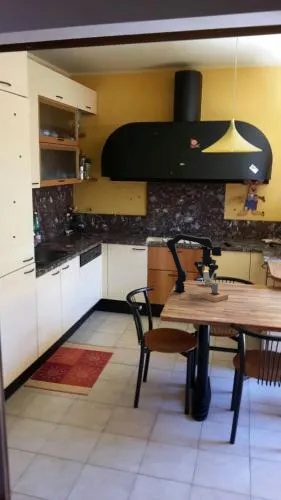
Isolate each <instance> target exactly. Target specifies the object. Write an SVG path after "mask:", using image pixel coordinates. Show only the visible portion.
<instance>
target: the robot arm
mask: <svg viewBox="0 0 281 500" xmlns="http://www.w3.org/2000/svg"><path fill="white" fill-rule="evenodd" d="M181 240H182V241H185V242H186V241H187V242H191V243H196V244H199V245H201V246H200V248H199V250H202V252H201V253H202V255H201V257H200V259H201V260H196V261H194V262H193V266H195V268H196V269H197V271H198V274H199V276H200V277H201V276H202V272H203V268H204V267H207V268H208V270H207V271H209V277H210V278H211V277H212V275H213V272H214V271H215V272H216V271H217V270H218V269H219V265H218V264H216V263H217V260H216V259H213V256H214V257H222V246H214V244H213V243H212V240H211V238H210V237H206V236H203V237H202V236H201V237H200V236H194V235H190V234H184V233H179V234H178V235H176V236H175V237H173V238H169V239H168V241H167V242H166V247H167V248H168V250H169V251H170V253H171V255H172V258H173V261H174V264H175V268H176V272H177V273H176V274H177V278H176V279H175V281H174V284H175V285H174V290H173V292H175V293H179V294H180V293H185V292H186V290H185V282H186V280H187V278H188V273H187V270H186V269H183V265H182V262H181V260H180V256H179V254H178V251H177V243H179V242H180V241H181ZM211 255H212V256H211Z"/></svg>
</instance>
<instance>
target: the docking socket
mask: <svg viewBox="0 0 281 500" xmlns="http://www.w3.org/2000/svg"><path fill="white" fill-rule="evenodd" d="M200 296H201V297H200V298H202V299H205V300H208V301H210V302H214V303H216V302H220V301H226V300H228V299H229V293H225V292H222V291H219V290H218V295H212V290H209V291H203V292H201V295H200Z"/></svg>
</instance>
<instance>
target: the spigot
mask: <svg viewBox="0 0 281 500" xmlns="http://www.w3.org/2000/svg"><path fill="white" fill-rule="evenodd" d="M211 291H212V295H218V291H219V284H218V283H215V282H212V285H211Z"/></svg>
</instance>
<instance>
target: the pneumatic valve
mask: <svg viewBox="0 0 281 500" xmlns="http://www.w3.org/2000/svg"><path fill="white" fill-rule="evenodd" d="M200 278H201V279H202V280H204V285H205V286H212V283H213V282H212V281H215V279H217V272H216V270H215V271H214V272H213V275H212V277H211V278H210V277H209V271H208V270H203V269H202V276H200Z"/></svg>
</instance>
